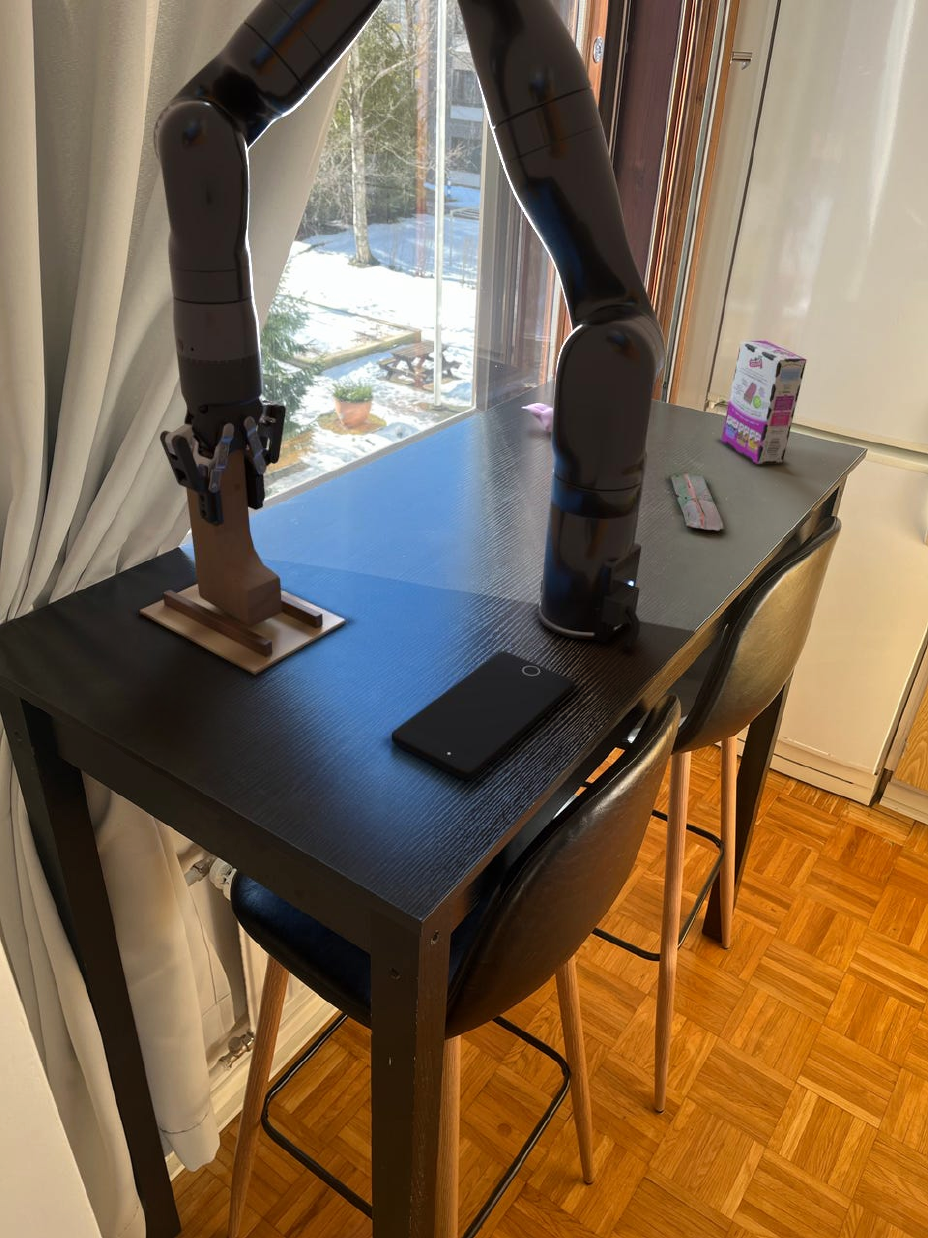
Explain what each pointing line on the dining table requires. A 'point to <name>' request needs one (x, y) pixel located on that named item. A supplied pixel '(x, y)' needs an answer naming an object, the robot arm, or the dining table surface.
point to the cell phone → (482, 714)
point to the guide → (243, 627)
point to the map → (696, 502)
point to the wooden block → (232, 552)
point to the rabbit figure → (542, 414)
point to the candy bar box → (763, 401)
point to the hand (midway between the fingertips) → (234, 514)
